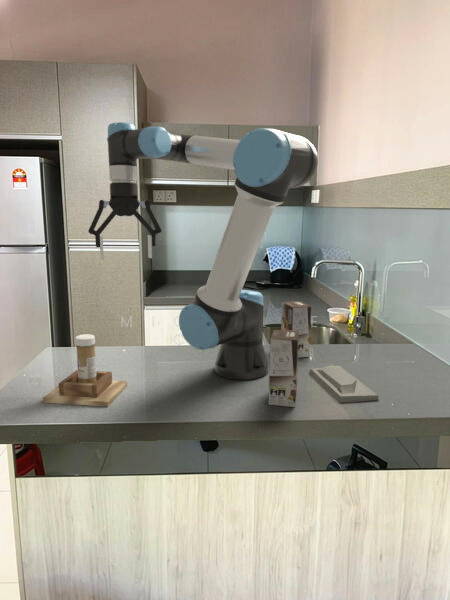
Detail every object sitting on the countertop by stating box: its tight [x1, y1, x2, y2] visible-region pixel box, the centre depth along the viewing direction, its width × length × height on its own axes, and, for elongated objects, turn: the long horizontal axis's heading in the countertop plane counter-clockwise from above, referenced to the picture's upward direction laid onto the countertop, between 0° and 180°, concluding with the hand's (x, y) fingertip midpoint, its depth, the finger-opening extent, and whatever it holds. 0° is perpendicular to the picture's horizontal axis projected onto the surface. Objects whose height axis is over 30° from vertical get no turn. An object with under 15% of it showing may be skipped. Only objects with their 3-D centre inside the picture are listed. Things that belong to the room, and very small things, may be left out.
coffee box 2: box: [268, 329, 299, 408], centre depth 109 cm, size 9×6×16 cm
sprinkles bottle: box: [74, 333, 97, 384], centre depth 112 cm, size 5×5×13 cm
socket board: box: [42, 369, 128, 407], centre depth 113 cm, size 16×13×4 cm
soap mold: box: [308, 364, 379, 404], centre depth 119 cm, size 10×20×4 cm, turn 11°
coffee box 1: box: [280, 300, 312, 359], centre depth 144 cm, size 9×6×16 cm
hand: (126, 258), depth 132 cm, fingers open, 13 cm apart
